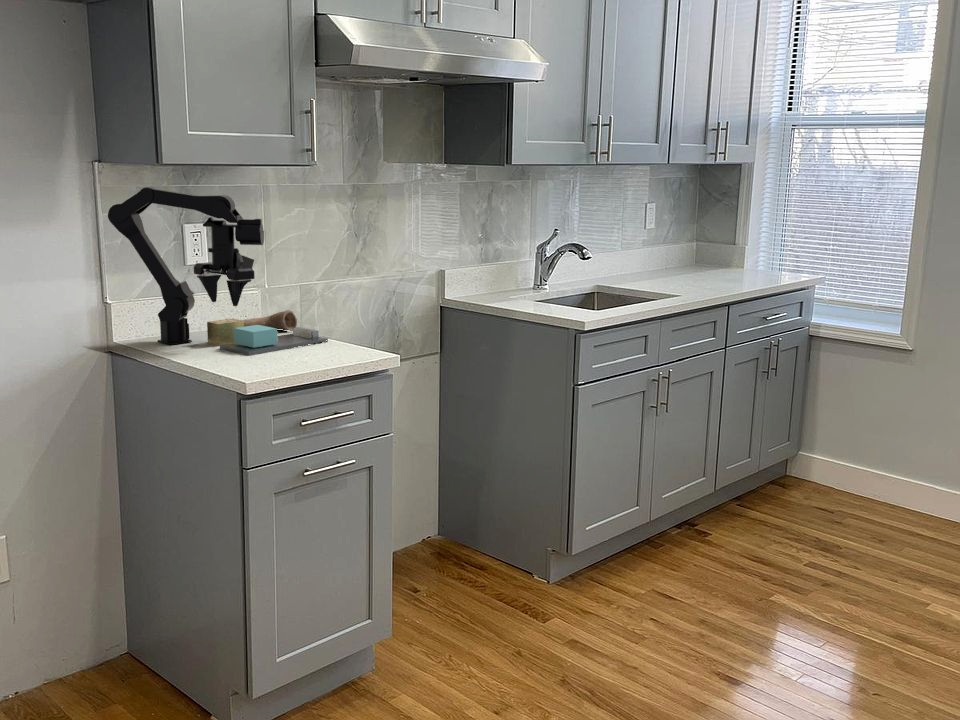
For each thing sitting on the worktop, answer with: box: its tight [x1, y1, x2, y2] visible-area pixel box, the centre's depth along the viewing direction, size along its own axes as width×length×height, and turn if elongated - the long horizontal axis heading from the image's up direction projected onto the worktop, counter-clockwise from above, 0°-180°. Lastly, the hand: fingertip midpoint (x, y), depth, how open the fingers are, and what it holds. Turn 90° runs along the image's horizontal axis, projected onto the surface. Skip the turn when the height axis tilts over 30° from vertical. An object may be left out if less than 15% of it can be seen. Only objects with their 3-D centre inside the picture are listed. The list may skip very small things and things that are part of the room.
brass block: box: [206, 318, 244, 347], centre depth 250 cm, size 8×5×6 cm, turn 141°
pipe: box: [243, 309, 298, 331], centre depth 268 cm, size 6×17×10 cm
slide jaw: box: [234, 325, 279, 348], centre depth 243 cm, size 8×8×4 cm
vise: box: [219, 326, 329, 356], centre depth 248 cm, size 26×12×3 cm, turn 141°
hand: (224, 303), depth 248 cm, fingers open, 9 cm apart
